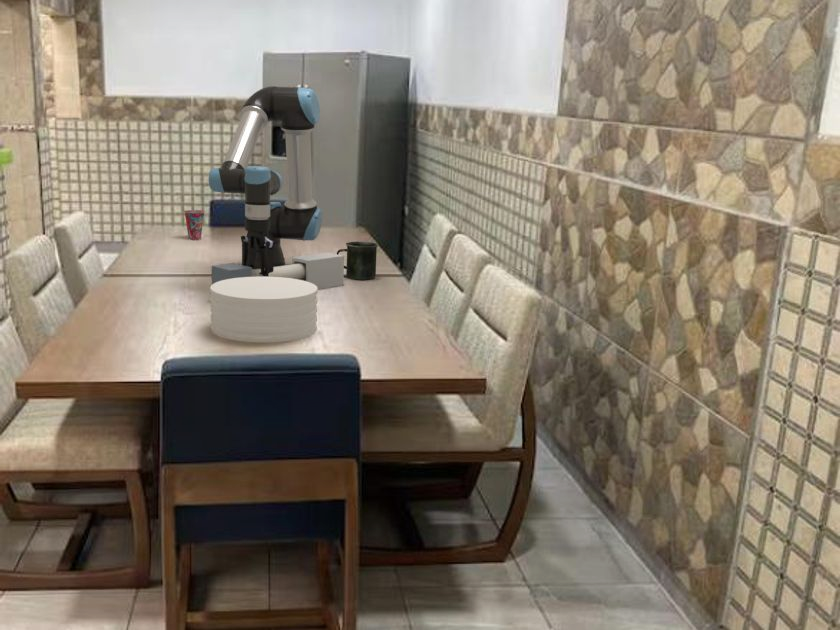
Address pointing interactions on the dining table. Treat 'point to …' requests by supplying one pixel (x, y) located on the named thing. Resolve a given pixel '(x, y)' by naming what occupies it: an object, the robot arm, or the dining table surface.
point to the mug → (360, 260)
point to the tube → (285, 271)
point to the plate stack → (263, 309)
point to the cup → (194, 223)
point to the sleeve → (322, 269)
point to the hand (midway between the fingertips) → (257, 292)
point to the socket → (230, 271)
